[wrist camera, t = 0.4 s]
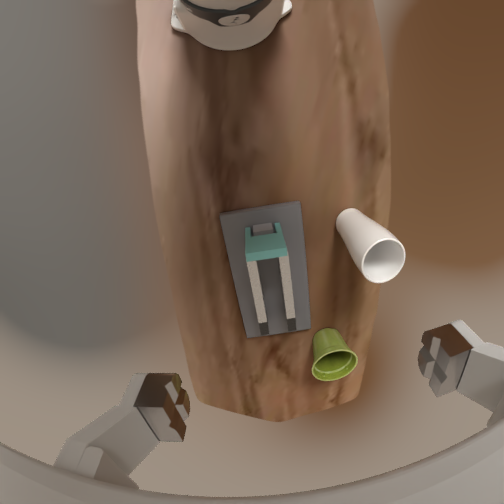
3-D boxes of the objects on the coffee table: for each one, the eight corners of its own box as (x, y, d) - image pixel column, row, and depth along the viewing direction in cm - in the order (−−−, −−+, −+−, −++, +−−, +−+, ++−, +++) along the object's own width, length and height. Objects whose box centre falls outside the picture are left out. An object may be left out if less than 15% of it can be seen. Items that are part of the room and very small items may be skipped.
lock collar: (245, 227, 46) (244, 253, 38) (279, 222, 46) (286, 247, 37) (248, 244, 47) (248, 273, 39) (281, 239, 47) (289, 267, 39)
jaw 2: (275, 242, 48) (278, 253, 44) (284, 241, 48) (288, 251, 44) (285, 317, 54) (288, 331, 51) (293, 316, 54) (296, 330, 51)
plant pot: (353, 338, 60) (364, 365, 52) (317, 358, 62) (325, 387, 54) (335, 314, 57) (346, 342, 49) (297, 336, 59) (303, 366, 51)
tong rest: (220, 213, 47) (217, 222, 43) (298, 200, 46) (303, 208, 42) (247, 333, 58) (247, 348, 54) (309, 323, 57) (313, 338, 53)
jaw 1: (245, 247, 48) (245, 258, 44) (254, 245, 48) (255, 256, 44) (260, 321, 55) (261, 335, 51) (268, 320, 55) (269, 334, 51)
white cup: (348, 246, 50) (379, 292, 37) (322, 223, 48) (350, 265, 35) (373, 220, 48) (414, 258, 34) (349, 195, 46) (388, 227, 32)
